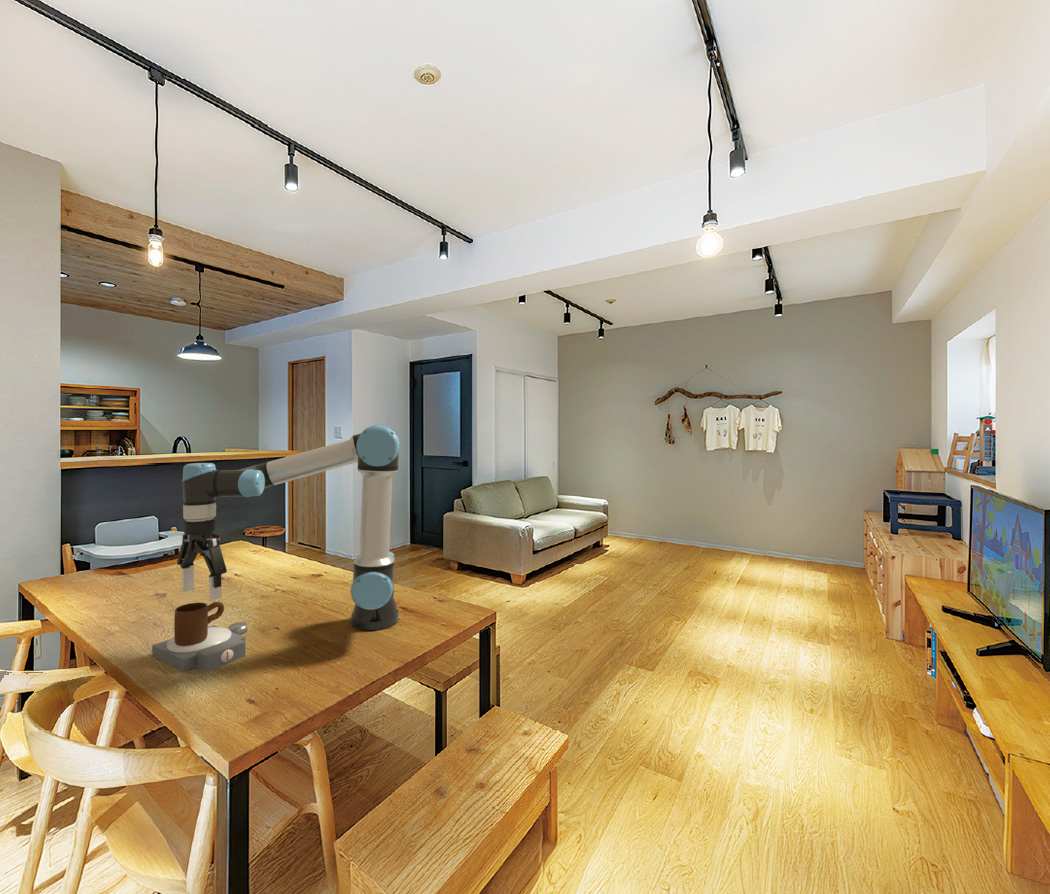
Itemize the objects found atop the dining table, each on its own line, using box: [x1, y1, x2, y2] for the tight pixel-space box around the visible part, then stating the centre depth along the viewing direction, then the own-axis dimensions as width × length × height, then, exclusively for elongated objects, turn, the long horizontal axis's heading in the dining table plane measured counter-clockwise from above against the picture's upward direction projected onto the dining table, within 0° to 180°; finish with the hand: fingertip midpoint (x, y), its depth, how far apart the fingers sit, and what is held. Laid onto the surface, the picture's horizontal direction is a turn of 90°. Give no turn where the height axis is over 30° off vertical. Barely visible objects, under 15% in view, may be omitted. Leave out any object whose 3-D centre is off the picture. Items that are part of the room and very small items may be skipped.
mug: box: [173, 601, 225, 646], centre depth 134 cm, size 12×8×9 cm, turn 144°
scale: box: [151, 624, 247, 672], centre depth 133 cm, size 21×16×4 cm
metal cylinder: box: [227, 621, 248, 636], centre depth 148 cm, size 5×5×2 cm
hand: (201, 594), depth 134 cm, fingers open, 13 cm apart
